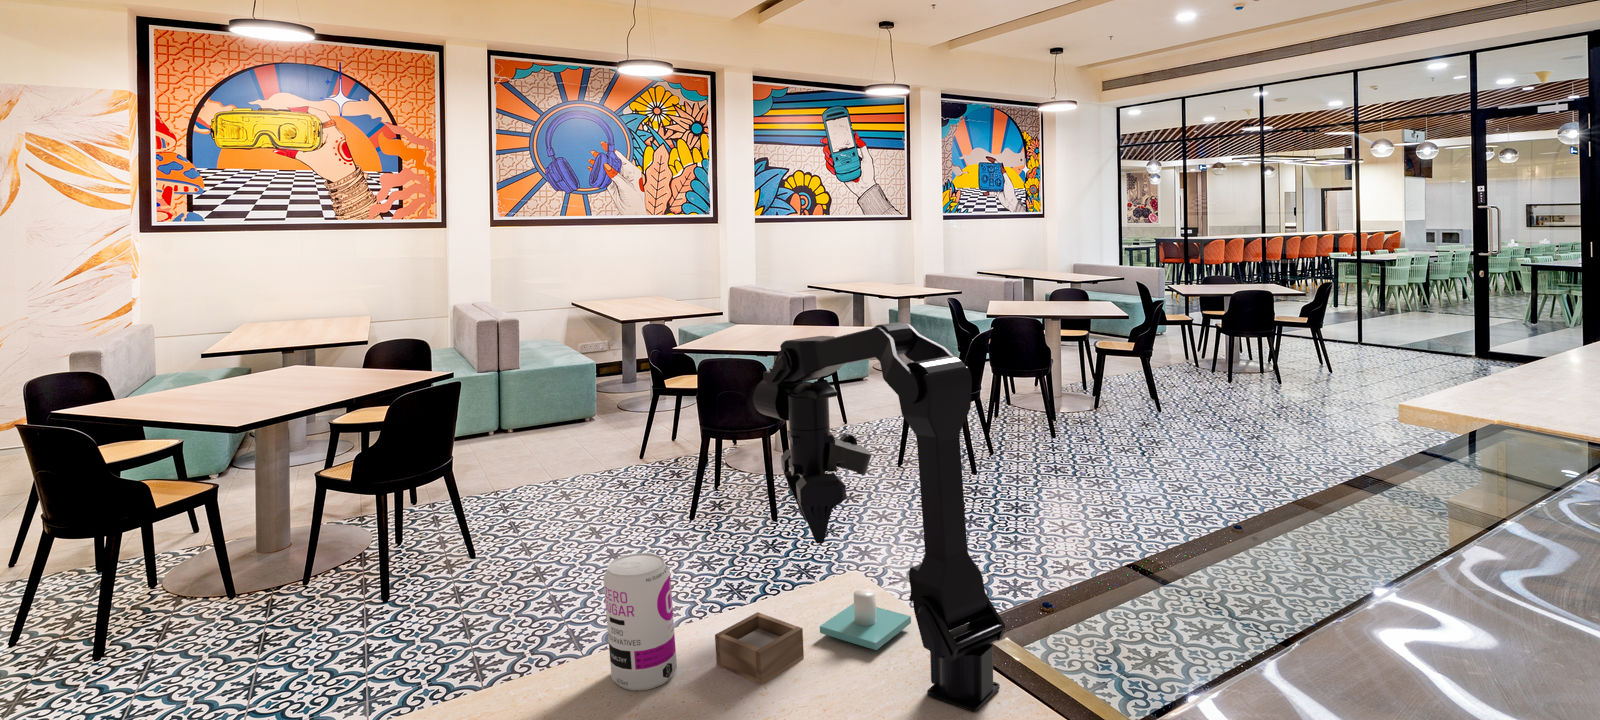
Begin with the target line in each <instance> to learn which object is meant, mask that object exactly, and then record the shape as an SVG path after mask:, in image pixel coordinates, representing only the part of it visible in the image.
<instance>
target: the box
mask: <svg viewBox="0 0 1600 720" xmlns="http://www.w3.org/2000/svg"><path fill="white" fill-rule="evenodd" d="M803 630H804V629H803V627H800V626H797V625H794V624H792V623H789V622H787V621H783V620H781V619H778V618H775V617H773V616H769V615H767V614H764V613H761V612H758V611H757V612H755V613H754V614H751V615H749V616H747V617H746V618H743V620H740V621H738V622H736V623H735V624H732V625H731V626H729V627H727V628H725V629H723V630H721V631H719V632H717V633H716V634H714V641H715V643H714V644H715V646H714V647H715V661H716V662H715V663H716V666H717V667H719V668H721V669H723V670H725V671H729V672H731V673H733V674H736V675H738V676H740V677H742V678H745V679H747V680H749V681H751V682H754V683H757V684H758V685H761V686H762V685H764V684H766V683H767V682H769V681H770V680H772V679H774V678H776V677H777V676H779V675H780V674H781V673H783V672H785V671H786V670H788V669H790V668H791V667H793V666H794V665H796V664H797V663H799V662H801V661H803V660H804V659H805V658H804V657H805V655H804V652H805V651H804V633H803V632H804V631H803Z"/></svg>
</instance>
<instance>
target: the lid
mask: <svg viewBox="0 0 1600 720" xmlns="http://www.w3.org/2000/svg"><path fill="white" fill-rule="evenodd" d="M876 594H877V593H876V591H875V590H873V589H869V588H860V589H857V590H854V592H853V603H852V604H850V605H849V606H847V607H846V608H844V609H843V610H841V611H840V612H839V613H837V614H836V615H833V617H831V618H830V619H828V620H826V621H825V622H823V623H822V624H821V625H819V634H821V635H826V636H829V637H830V638H831V637H832V638H836V639H838V640H842V641H844V642H848V643H852V644H855V645H858V646H861V647H865V648H869V649H871V650H874V651H877V650H879V649H880V648H881V647H882V646H883V645H885V644H886V643H888V642H889V641H890V640H892V639H893V638H894V637H895V636H897V635H898V634H899V633H900V632H902V631H903V630H904V629H905V628H907V627H908V626H909V625H910V624H911V623H912V615H907V614H903V613H900V612H897V611H894V610H893V611H892V610H889V609H887V608H886V609H885V608H881V607H877V597H876V596H877V595H876Z"/></svg>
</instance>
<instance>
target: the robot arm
mask: <svg viewBox="0 0 1600 720" xmlns="http://www.w3.org/2000/svg"><path fill="white" fill-rule="evenodd" d="M779 348H780V350H779V351H778V353H777V355H776V358H775V360H774V363H773V364H772V365H773V366H772V368H771V370H767V371H763V372H762V377H763V379H762V380H761V381H760V382H759V383H758V384H757V385H756V387H755V389H754V392H753V395H752V403H753V406H754V408H755V409H756V411H757V412H759V413H760V414H762V415H764V416H768V417H770V418H771V417H772V418H774V419H778V420H782V421H787V422H788V429H789V430H787V433H786V434H787V439H788V440H789V447H790V449H786V450H785V451H784V452H783V454H781V456H780V461H781V465H780V466H781V469H782V471H783V475H784V478H785V480H786V482H787V485H788V486H789V489H790V492H791V493H792V495H793V498H794V500H795V502H796V504H797V507H798V509H799V511H800V513H801V516H802V518H803V520H804V522H807V526H808V528H809V530H810V531H811V535H812V537H813V540H814V541H815V543H816V544H817V545H818V544H823V543H825V540H826V534H827V531H828V527H829V521H830V517H831V514H832V511H833V509H834V508H835V507H836V506H838V505H840V504H842V503H843V502H844V501H845V500H847V486H846V484H845V483H844V482H843V480H842V479H841V478H840V477H839V476H838V475H836V472H838V468H840V469H844V470H848V471H851V472H855V473H856V474H858V475H861V476H865V475H866V472H867V470H868V467H869V464H870V461H871V459H872V453H871V452H870V450H868V448H866V447H864V446H863V445H861V444H859V445H858V440H857V438H856V436H855V435H853V434H850V433H848V432H846V433H845V432H844V433H843V434H842V435H841V436H840V438H836V437H835V435H834V434H832V432H831V428H830V427H831V425H830V401H829V399H830V398H836V397H838V391H837V390H836V389H835V388H834V387H833V386H832V385H831V384H830V383H829V381H828V379H821V380H820V378H822V377H827V376H829V375H831V374H833V373H835V372H837V371H839V370H841V369H842V367H843V366H845V365H846V364H852V363H855V362H856V363H857V362H861V361H867V360H872V359H877V360H878V361H879V363H880V369H881V373H882V378H883V381H884V382H885V383H886V384H887V385H888V386H889V387H890V388H891V389H892V391H893V392H894V393H895V394H896V395H897V396H898V401H899V405H900V411H901V415H902V417H903V418H904V420H905V421H906V423H907V424H908V425H909V427H910V428H911V430H912V431H913V433H914V435H915V438H916V444H917V446H916V448H917V458H918V459H917V460H918V473H919V474H918V475H919V487H920V488H919V489H920V500H921V503H920V504H921V513H922V515H921V516H922V517H921V518H922V526H923V527H922V529H923V541H924V542H923V543H924V557H923V559H922V561H921V563H920V564H917V565H914V566H911V567H910V568H909V572H908V579H909V583H910V584H909V586H910V595H909V602H912V604H913V611H914V615H915V619H916V623H917V627H918V631H919V634H920V640H921V643H922V646H923V648H924V649H926V650H927V651H929V653H930V682H931V684H933V685H932V686H931V687H929V688H928V689H927V692H926V693H927V696H928V697H931V698H933V699H936V700H940V701H943V702H945V703H948V704H951V705H953V706H956V707H959V708H962V709H964V710H968V711H971V712H977V711H979V710H980V709H981V708H982V707H983V706H984V705H985V704H986V703H987V702H988V701H989V700H990V699H991V698H992V697H993V696H994V695H995V694H996V693H997V692H998V691H999V690H1000V687H1001V686H1000V683H998V682H996V681H994V645H993V644H992V643H994V642H997V641H1000V640H1002V639H1003V637H1004V633H1005V631H1006V624H1005V623H1004V620H1003V619H1002V617H1001V616H1000V614H999V612H998V611H997V610H996V608H995V606H994V605H993V603H992V601H991V599H990V598H989V596H988V595H987V593H986V588H985V584H984V578H983V574H982V572H981V570H980V568H979V567H978V566H977V564H976V563H975V561H974V560H973V558H972V557H971V556H970V554H969V551H968V540H967V539H968V537H967V527H966V510H965V509H966V508H965V496H964V482H963V481H964V479H963V467H962V454H961V453H962V452H961V451H962V450H961V440H960V439H961V437H960V436H961V435H960V434H961V431H962V429H963V427H964V424H965V422H966V419H967V418H968V415H969V413H970V410H971V405H972V391H973V390H972V389H973V377H972V372H971V370H970V368H969V366H966V364H965V363H964V362H963V361H962V360H961V359H959V358H958V357H957V356H954V354H952V352H951V351H950V350H949V349H947V348H946V347H945V346H943V345H942V344H939V343H938V342H936V341H933V340H932V339H930V338H928V337H926V336H924V335H922V334H920V332H918V331H917V330H916V329H915V328H914V327H913V326H912V325H911V324H909V323H907V322H903V321H899V322H889V323H882V324H881V323H880V324H877V325H875V326H874V327H873V328H869V329H864V330H860V331H856V332H852V333H847V334H844V335H840V336H834V335H817V336H811V337H804V338H802V337H801V338H794V339H789V340H784V341H782V343H780V347H779ZM901 355H904V356H905V357H906V358H907V359H908V360H910V361H912V362H908V363H905V362H903V360H902V359H901V358H900V357H899V356H901ZM811 381H813V382H811ZM826 472H827V473H826ZM834 472H835V473H834Z"/></svg>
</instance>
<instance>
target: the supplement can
mask: <svg viewBox="0 0 1600 720" xmlns="http://www.w3.org/2000/svg"><path fill="white" fill-rule="evenodd" d="M603 588H604V589H603V590H604V603H605V613H606V616H605V617H606V625H607V638H608V639H607V640H608V651H609V661H610V674H611V675H610V677H611V680H612V681H613V682H614V683H615V684H617V685H619V687H620V688H623V689H625V690H628V691H629V690H630V691H636V690H638V691H647V690H651V689H655V688H658V687H660V686H663V685H664V684H666V683H667V682H668V681H669V680H670V679H671V678H672V676H673V675H675V672H677V671H676V670H677V668H678V664H677V651H676V650H677V649H676V639H675V638H676V635H675V634H676V633H675V623H674V609H673V596H672V580H671V571H670V568H669V566H668V565H667V564H666V563H665V560H664V557H662V556H660V555H658V554H655V553H648V552H647V553H646V552H641V553H630V554H625V555H622V556H620V557H617V558H615V559H613V560H611V561H610V562H609V563H608V565H607V568H606V571H605V573H604V576H603ZM670 677H671V678H670ZM668 679H669V680H668ZM667 680H668V681H667ZM666 681H667V682H666ZM665 682H666V683H665ZM663 683H664V684H663ZM659 685H660V686H659ZM657 686H658V687H657Z"/></svg>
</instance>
